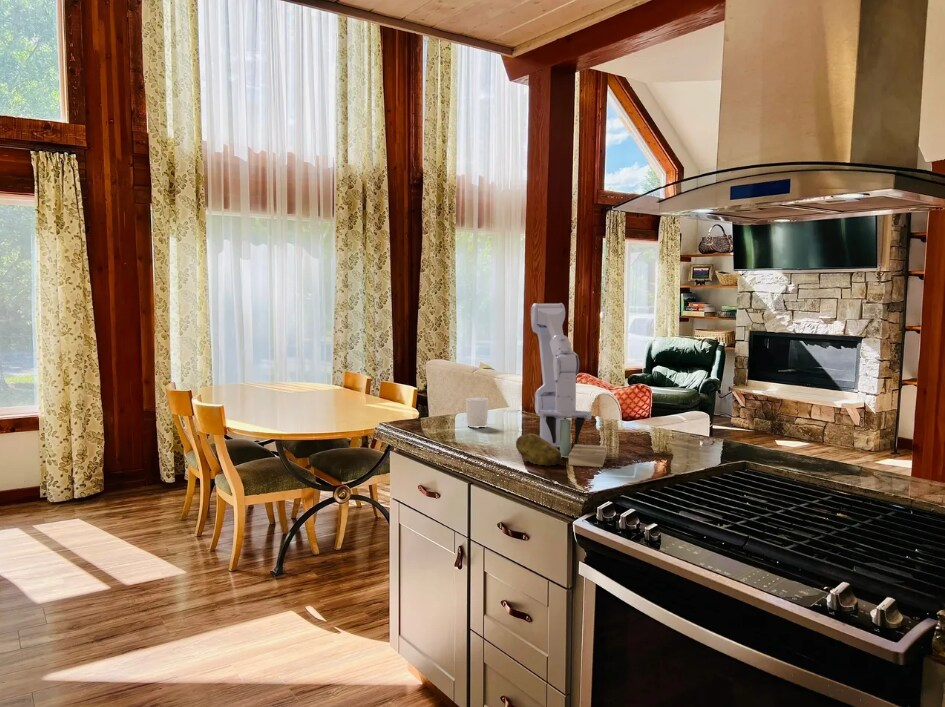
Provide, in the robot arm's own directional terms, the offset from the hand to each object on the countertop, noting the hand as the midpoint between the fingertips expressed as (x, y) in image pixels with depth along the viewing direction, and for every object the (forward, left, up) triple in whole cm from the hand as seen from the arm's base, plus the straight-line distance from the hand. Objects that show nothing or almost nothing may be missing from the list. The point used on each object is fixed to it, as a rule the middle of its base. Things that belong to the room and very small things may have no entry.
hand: (565, 443), depth 204 cm
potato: (+12, -6, -4) cm, 14 cm away
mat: (-1, 0, -4) cm, 4 cm away
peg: (0, 0, -3) cm, 3 cm away
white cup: (-38, -36, -4) cm, 52 cm away
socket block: (+5, +7, -4) cm, 9 cm away
